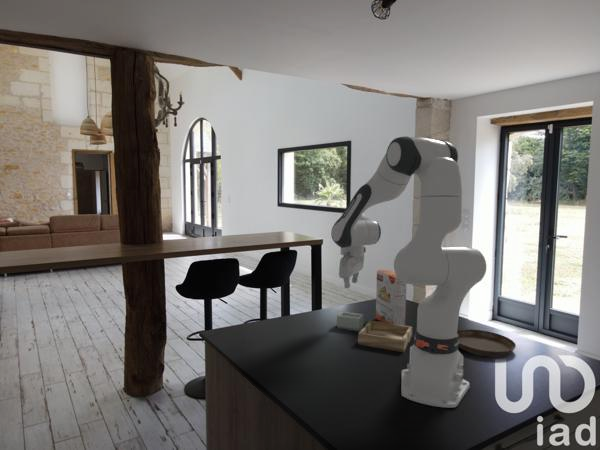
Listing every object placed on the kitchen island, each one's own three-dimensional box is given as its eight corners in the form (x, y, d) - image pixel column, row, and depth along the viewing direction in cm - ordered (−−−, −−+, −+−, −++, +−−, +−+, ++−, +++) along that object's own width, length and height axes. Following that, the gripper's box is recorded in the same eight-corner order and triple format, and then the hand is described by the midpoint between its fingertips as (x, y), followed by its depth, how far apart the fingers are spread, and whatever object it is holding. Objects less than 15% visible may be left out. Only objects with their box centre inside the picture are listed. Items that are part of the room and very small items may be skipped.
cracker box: (374, 318, 177) (376, 270, 175) (387, 317, 179) (388, 269, 177) (392, 329, 164) (394, 277, 162) (405, 328, 166) (407, 276, 164)
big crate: (403, 352, 141) (404, 340, 141) (357, 344, 148) (358, 333, 148) (411, 337, 156) (412, 326, 156) (369, 330, 162) (370, 320, 162)
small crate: (358, 331, 161) (359, 318, 161) (336, 327, 165) (337, 315, 164) (363, 326, 167) (363, 314, 166) (341, 323, 170) (342, 311, 170)
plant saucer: (518, 345, 150) (519, 336, 150) (510, 365, 133) (511, 355, 132) (458, 333, 161) (459, 325, 161) (444, 350, 144) (444, 341, 144)
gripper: (351, 255, 152) (350, 292, 154) (367, 247, 171) (365, 280, 172) (335, 253, 155) (334, 290, 156) (352, 246, 173) (351, 279, 175)
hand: (351, 285), depth 164 cm, fingers open, 8 cm apart
